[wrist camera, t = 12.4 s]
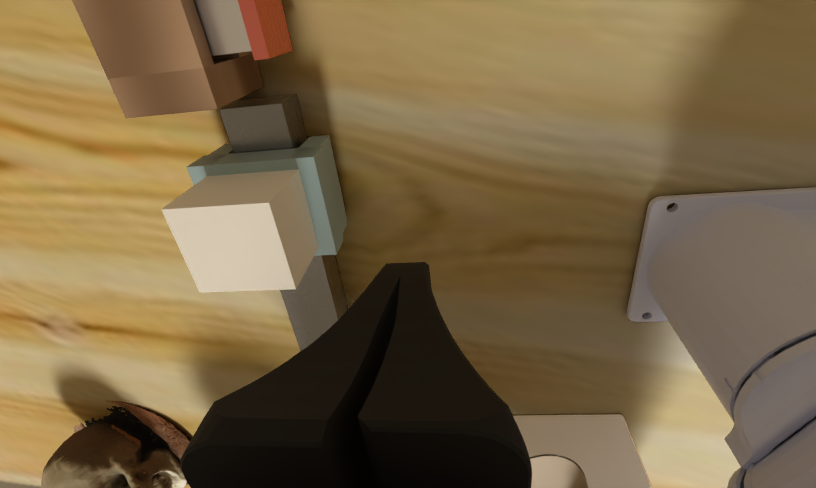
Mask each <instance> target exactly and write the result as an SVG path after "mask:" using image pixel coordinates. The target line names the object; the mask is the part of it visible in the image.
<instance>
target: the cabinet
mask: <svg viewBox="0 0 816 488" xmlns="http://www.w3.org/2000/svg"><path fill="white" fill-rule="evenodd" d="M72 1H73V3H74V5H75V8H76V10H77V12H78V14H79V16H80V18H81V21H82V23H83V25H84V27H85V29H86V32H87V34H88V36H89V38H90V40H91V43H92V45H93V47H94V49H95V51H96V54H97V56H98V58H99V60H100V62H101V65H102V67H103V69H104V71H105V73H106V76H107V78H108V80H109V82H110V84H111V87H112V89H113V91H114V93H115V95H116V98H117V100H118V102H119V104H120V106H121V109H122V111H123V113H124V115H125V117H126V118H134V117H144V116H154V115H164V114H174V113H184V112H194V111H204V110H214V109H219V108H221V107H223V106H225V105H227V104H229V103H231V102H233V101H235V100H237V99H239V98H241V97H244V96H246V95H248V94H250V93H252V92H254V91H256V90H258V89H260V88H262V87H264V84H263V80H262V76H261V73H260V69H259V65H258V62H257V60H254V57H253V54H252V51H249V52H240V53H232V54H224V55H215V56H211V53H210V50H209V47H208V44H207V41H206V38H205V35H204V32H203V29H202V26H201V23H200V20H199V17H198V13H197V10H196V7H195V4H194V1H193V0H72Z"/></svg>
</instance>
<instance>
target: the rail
mask: <svg viewBox="0 0 816 488" xmlns="http://www.w3.org/2000/svg"><path fill="white" fill-rule="evenodd" d="M219 111H220V114H221V117H222V120H223V123H224V126H225V129H226V132H227V135H228V138H229V141H230V144H231V147H232V149H233V152H234V153H245V152H257V151H269V150H281V149H293V148H299V147H300V146H301V145H302V144H303V143H304V142H305V141H306V140H307V136H306V132H305V128H304V124H303V120H302V116H301V111H300V107H299V103H298V99H297V95H296V94H293V95H283V96H273V97H263V98H254V99H244V100H238V101H236V102H234V103H232V104H230V105H228V106H226V107H224V108H222V109H220V110H219ZM280 291H281V294H282V297H283V300H284V303H285V306H286V309H287V312H288V315H289V318H290V321H291V324H292V327H293V330H294V333H295V336H296V338H297V341H298V344H299V347H300V350H301V351H302V350H303V349H305V348H306V347H307V346H309V345H310V344H312V343H313V342H314V341H315V340H316V339H318V338H319V337H320V336H321V335H322V334H324V333H325V332H326V331H327V330H328V329H329V328H330V327H331V326H332V325H333V324H335V323H336V322H337V321H338V320H339V318H340V317H341V316H342V315H343V314H344V313H345V312H346V311H347V310H348V307H347V302H346V298H345V294H344V290H343V286H342V282H341V277H340V273H339V269H338V265H337V261H336V257H335V255H319V256H314V257H313V259H312V261H311V263H310V264H309V266H308V268H307V270H306V272H305V274H304V276H303V277H302V279H301V281H300V283H299V285H298V287H297V289H290V290H280Z"/></svg>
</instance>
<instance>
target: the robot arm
mask: <svg viewBox="0 0 816 488" xmlns="http://www.w3.org/2000/svg"><path fill="white" fill-rule="evenodd" d="M671 203H675V204H674V206H673V207H672V208H670V209H667V206H668V205H669V204H671ZM647 312H648V313H647ZM644 313H647V314H646V315H643V314H644ZM627 316H628V318H629V320H631V321H632V322H666V321H669V323H670V324H671V326H672V327H673V329H674V330H675V332H676V334H677V335H678V337H679V338H680V340H681V341H682V343H683V344H684V346H685V348H686V349H687V351H688V352H689V354H690V355H691V357H692V358H693V360H694V361H695V363H696V365H697V366H698V368H699V369H700V371H701V372H702V374H703V375H704V377H705V378H706V380H707V382H708V383H709V385H710V386H711V388H712V389H713V391H714V392H715V394H716V395H717V397H718V399H719V400H720V402H721V403H722V405H723V406H724V408H725V409H726V411H727V412H728V414H729V416H730V417H731V419H732V420H733V422H734V427H733V429H732V431H731V432H730V433H729V434H728V435H727V436H726V437H725V441H726V442H727V444H728V446H729V447H730V449H731V451H732V452H733V454H734V456H735V457H736V459H737V461H738V462H739V464H740V466H741V468H739V469H738V470H737V471H735V472H734V474H733V475H732V477H731V478H730V480H729V483H728V487H727V488H816V187H811V188H793V189H776V190H759V191H742V192H724V193H707V194H690V195H673V196H659V197H656V198H654V199H652V200H651V201H650V202H649V205H648V208H647V213H646V218H645V223H644V228H643V233H642V238H641V243H640V248H639V253H638V258H637V263H636V268H635V273H634V278H633V283H632V288H631V293H630V298H629V303H628V308H627ZM181 470H182V473H183V475H184V477H185V479H186V481H187V483H188V484H189V485H190V487H191V488H531V483H532V466H531V461H530V457H529V454H528V450H527V447H526V444H525V442H524V439H523V437H522V434H521V432H520V430H519V428H518V425H517V423H516V421H515V419H514V417H513V415H512V413H511V411H510V409H509V407H508V405H507V404H506V403H505V402H504V401H503V400H502V399H501V398H500V397H499V396H498V395H497V394H496V393H495V392H494V391H493V390H492V389H491V388H490V387H489V386H488V385H487V383H486V382H485V381H484V380H483V379H482V378H481V377H480V375H479V374H478V373H477V372H476V370H475V369H474V368H473V366H472V365H471V364H470V362H469V361H468V360H467V358H466V357H465V356H464V354H463V353H462V351H461V350H460V348H459V347H458V345H457V344H456V342H455V340H454V339H453V337H452V335H451V334H450V332H449V330H448V328H447V326H446V324H445V322H444V320H443V318H442V316H441V314H440V312H439V309H438V307H437V304H436V301H435V299H434V296H433V293H432V290H431V280H430V271H429V265H428V264H427V263H425V262H417V263H392V264H386V265H385V266H384V267H383V268H382V269H381V271H380V272H379V273H378V274H377V276H376V277H375V278H374V280H373V281H372V282H371V283H370V285H369V286H368V287H367V288H366V290H365V291H364V292H363V293H362V294H361V295H360V297H359V298H358V299H357V300H356V301H355V303H354V304H353V305H352V306H351V307H350V308H349V309H348V310H347V311H346V312H345V313H344V314H343V315H342V316H341V317H340V318H339V320H338V321H337V322H336V323H335V324H333V325H332V326H331V327H330V328H329V329H328V330H327V331H326V332H325V333H324V334H322V335H321V336H320V337H319V338H318V339H316V340H315V341H314V342H313V343H312V344H310V345H309V346H307V347H306V348H305V349H303V350H302V351H301V352H299V353H298V354H297V355H295V356H294V357H292V358H291V359H290V360H288V361H287V362H285V363H284V364H282V365H281V366H279V367H278V368H276V369H274V370H273V371H271V372H270V373H268V374H266V375H264V376H263V377H261V378H259V379H258V380H256V381H254V382H252V383H251V384H249V385H247V386H245V387H243V388H241V389H239V390H237V391H235V392H233V393H231V394H229V395H227V396H225V397H223V398H221V399H219V400H217V401H215V402H214V403H213V405H212V406H211V408H210V409H209V411H208V412H207V414H206V416H205V417H204V419H203V420H202V422H201V424H200V426H199V427H198V429H197V431H196V433H195V434H194V436H193V438H192V439H191V441H190V443H189V445H188V446H187V448H186V450H185V452H184V453H183V455H182V457H181Z"/></svg>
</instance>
